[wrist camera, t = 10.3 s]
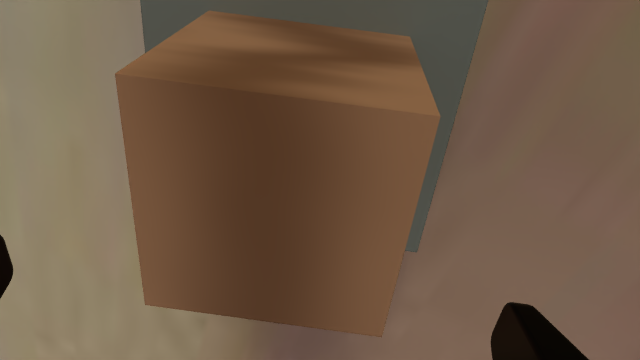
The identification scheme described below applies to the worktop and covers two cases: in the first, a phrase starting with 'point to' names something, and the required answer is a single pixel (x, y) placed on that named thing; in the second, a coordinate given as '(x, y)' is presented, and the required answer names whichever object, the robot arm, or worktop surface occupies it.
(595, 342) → the worktop surface
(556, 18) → the worktop surface
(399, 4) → the slate block
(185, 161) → the terracotta cube
